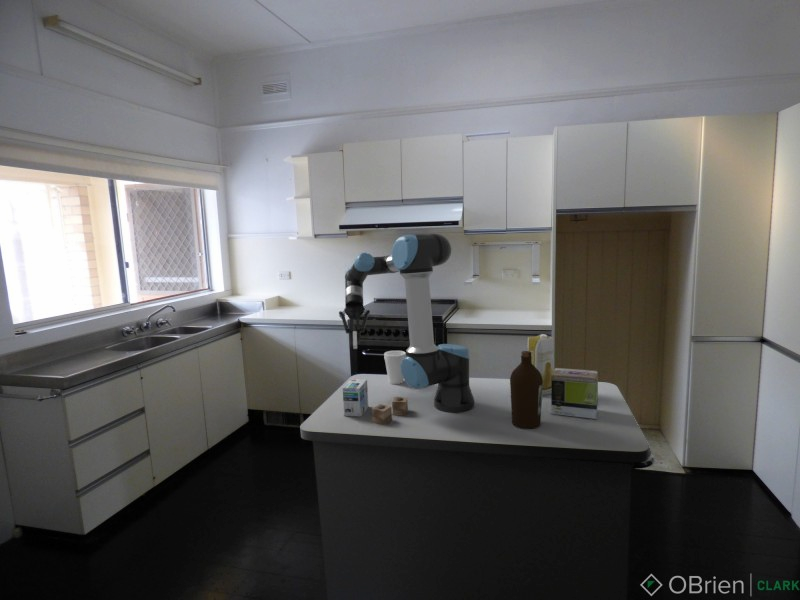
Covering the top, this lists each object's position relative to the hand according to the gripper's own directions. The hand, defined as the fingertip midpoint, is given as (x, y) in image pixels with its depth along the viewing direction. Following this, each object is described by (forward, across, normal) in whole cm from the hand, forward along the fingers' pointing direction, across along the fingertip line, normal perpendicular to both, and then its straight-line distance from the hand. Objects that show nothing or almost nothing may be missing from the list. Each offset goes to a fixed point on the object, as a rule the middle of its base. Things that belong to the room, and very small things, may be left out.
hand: (355, 347), depth 189 cm
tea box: (+34, -78, +3) cm, 85 cm away
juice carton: (+19, -73, -12) cm, 76 cm away
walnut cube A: (+27, -16, -4) cm, 31 cm away
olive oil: (+39, -58, +8) cm, 70 cm away
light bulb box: (+24, 0, -6) cm, 25 cm away
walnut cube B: (+32, -9, +1) cm, 33 cm away
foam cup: (+2, -16, -29) cm, 33 cm away
